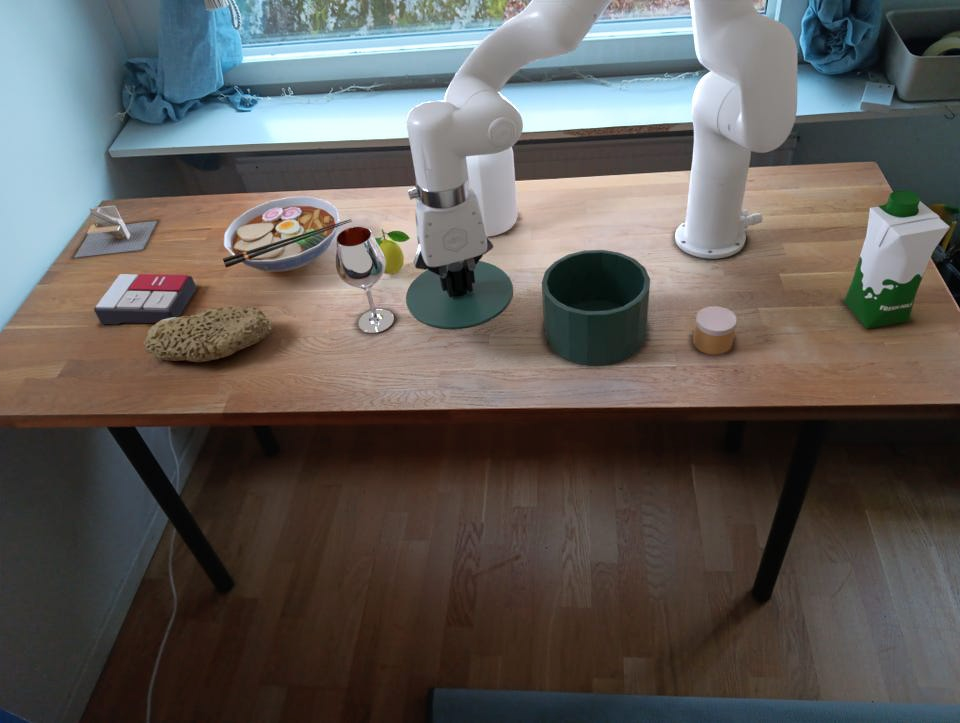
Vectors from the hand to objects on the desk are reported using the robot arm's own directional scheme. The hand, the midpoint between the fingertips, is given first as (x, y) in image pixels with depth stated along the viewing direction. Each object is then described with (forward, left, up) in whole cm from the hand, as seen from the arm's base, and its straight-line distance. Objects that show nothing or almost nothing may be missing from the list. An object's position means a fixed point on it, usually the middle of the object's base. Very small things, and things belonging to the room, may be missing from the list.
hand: (458, 288), depth 118 cm
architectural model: (+62, -61, -9) cm, 87 cm away
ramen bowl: (+26, -36, -9) cm, 45 cm away
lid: (0, 0, -1) cm, 1 cm away
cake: (-36, +19, -9) cm, 42 cm away
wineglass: (+14, -9, -9) cm, 19 cm away
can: (-14, -31, -9) cm, 35 cm away
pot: (-20, +9, -9) cm, 24 cm away
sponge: (+42, -14, -9) cm, 45 cm away
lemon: (+8, -22, -9) cm, 25 cm away
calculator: (+54, -32, -9) cm, 63 cm away
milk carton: (-63, +23, -9) cm, 68 cm away
